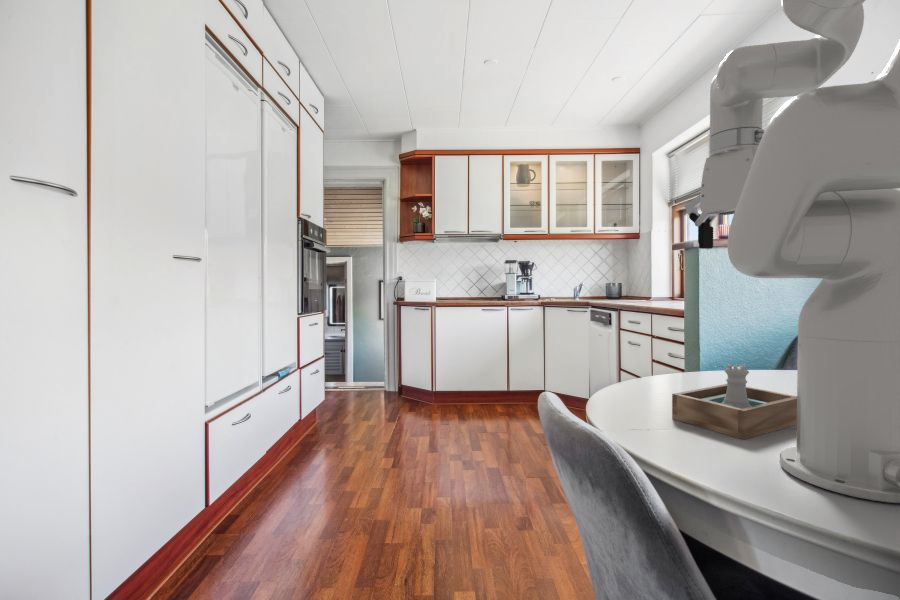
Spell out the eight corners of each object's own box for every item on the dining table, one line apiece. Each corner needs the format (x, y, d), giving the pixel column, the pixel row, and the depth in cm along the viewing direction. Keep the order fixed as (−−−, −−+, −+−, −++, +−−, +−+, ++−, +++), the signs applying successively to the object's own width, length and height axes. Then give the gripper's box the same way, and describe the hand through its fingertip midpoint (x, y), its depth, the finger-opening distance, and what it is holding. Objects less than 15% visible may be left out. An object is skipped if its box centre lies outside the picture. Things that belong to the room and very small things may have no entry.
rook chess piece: (743, 412, 71) (743, 362, 70) (760, 420, 66) (760, 368, 66) (714, 411, 71) (714, 362, 71) (728, 420, 67) (728, 367, 66)
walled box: (801, 423, 67) (802, 397, 67) (743, 439, 61) (744, 411, 60) (729, 405, 77) (729, 383, 77) (672, 418, 70) (672, 393, 70)
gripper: (806, 133, 69) (803, 243, 70) (699, 160, 84) (698, 250, 85) (780, 126, 65) (777, 242, 66) (674, 156, 81) (673, 249, 82)
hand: (733, 246), depth 76 cm, fingers open, 9 cm apart
